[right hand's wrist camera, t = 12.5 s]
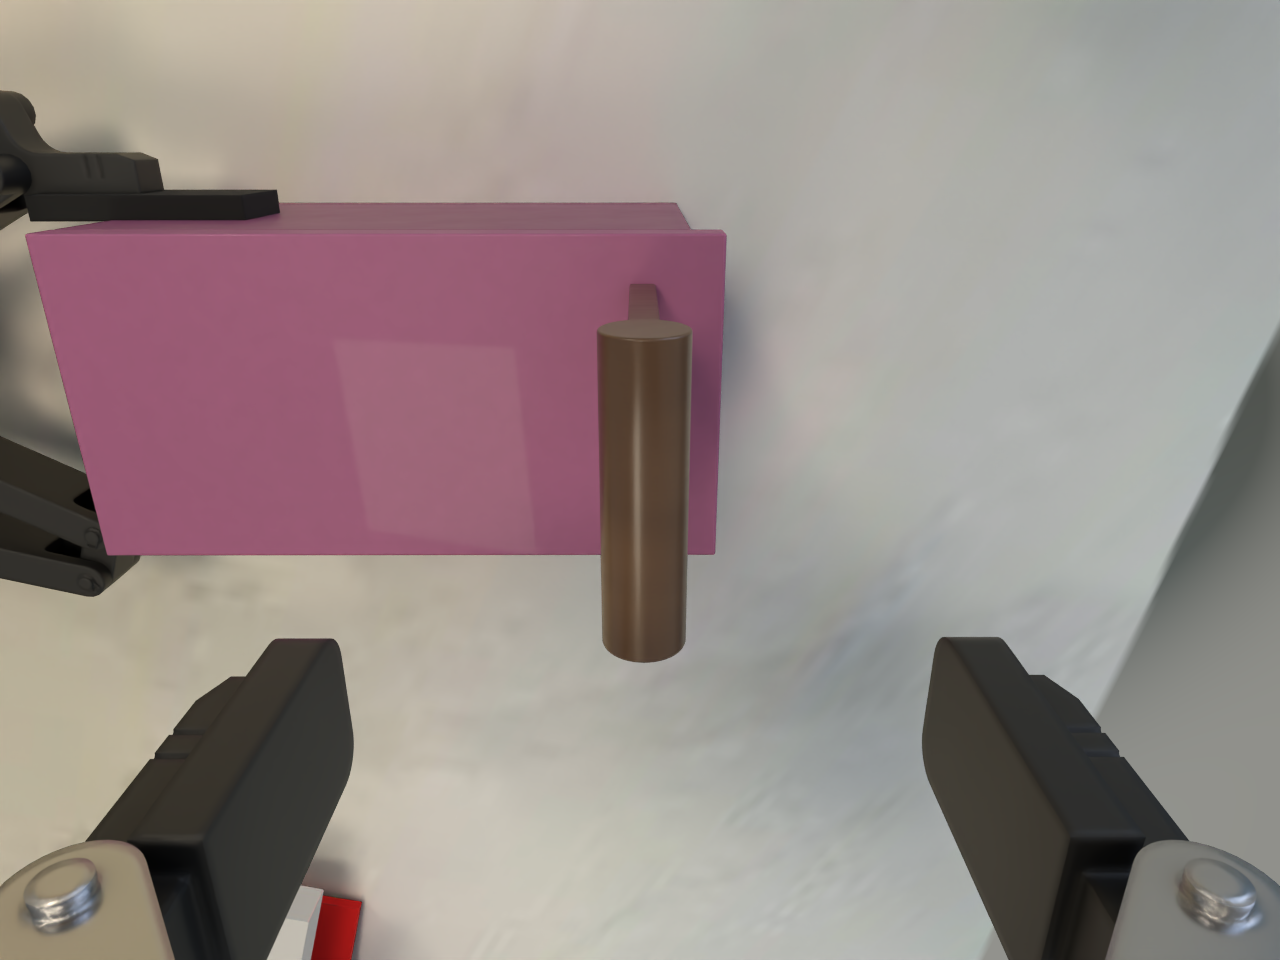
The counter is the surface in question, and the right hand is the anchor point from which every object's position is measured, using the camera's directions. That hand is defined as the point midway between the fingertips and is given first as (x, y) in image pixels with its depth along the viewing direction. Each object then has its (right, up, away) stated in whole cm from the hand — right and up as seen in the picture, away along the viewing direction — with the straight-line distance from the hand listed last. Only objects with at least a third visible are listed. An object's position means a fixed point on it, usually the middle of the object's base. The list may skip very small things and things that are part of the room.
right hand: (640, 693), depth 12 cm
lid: (-7, +5, +14) cm, 16 cm away
